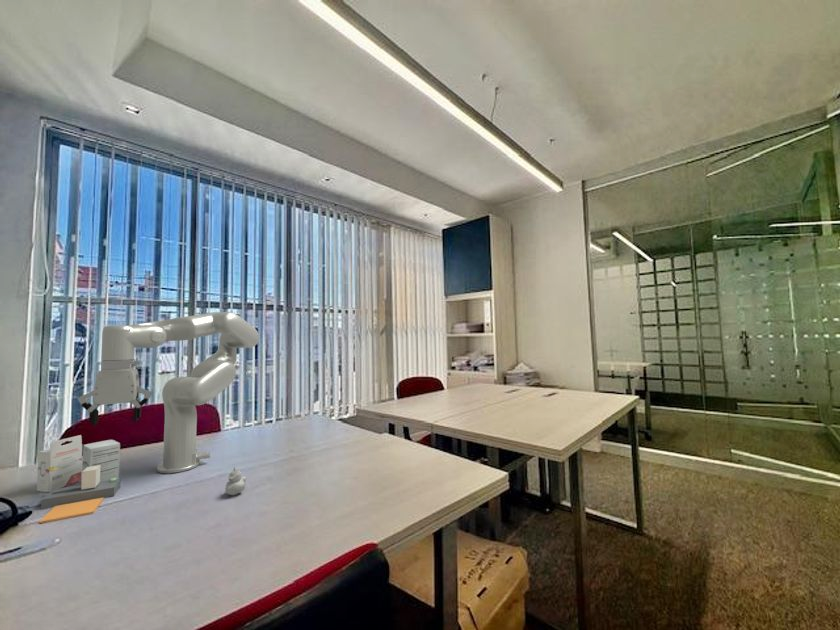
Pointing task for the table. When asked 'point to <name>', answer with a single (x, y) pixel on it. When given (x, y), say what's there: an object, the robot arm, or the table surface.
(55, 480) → the ink cartridge box
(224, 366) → the robot arm
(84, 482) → the cream rectangular block
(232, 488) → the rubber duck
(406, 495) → the table surface
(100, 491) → the gray flat block
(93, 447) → the supplement box
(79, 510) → the pad
